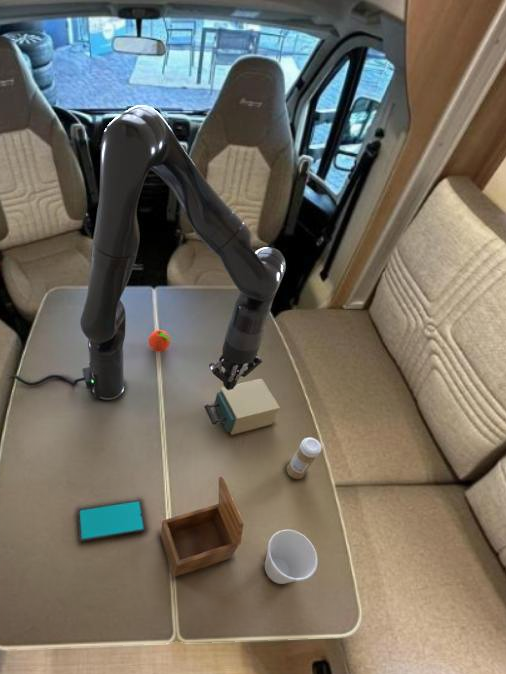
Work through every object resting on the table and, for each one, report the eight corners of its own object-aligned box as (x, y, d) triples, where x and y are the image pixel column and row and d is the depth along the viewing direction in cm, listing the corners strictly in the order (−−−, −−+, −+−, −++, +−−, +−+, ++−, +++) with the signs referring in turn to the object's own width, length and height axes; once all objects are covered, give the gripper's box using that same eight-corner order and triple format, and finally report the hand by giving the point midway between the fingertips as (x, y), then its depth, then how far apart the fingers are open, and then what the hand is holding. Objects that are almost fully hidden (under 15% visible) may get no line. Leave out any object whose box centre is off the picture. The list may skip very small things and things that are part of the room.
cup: (250, 547, 95) (262, 531, 86) (292, 544, 96) (308, 527, 87) (262, 595, 88) (276, 582, 80) (307, 591, 89) (325, 578, 81)
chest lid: (239, 524, 75) (243, 523, 75) (218, 477, 81) (222, 475, 81) (237, 545, 86) (240, 544, 86) (218, 502, 92) (221, 501, 92)
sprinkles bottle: (307, 473, 107) (326, 447, 97) (295, 482, 106) (313, 457, 95) (294, 460, 110) (311, 433, 99) (282, 468, 108) (298, 442, 98)
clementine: (176, 347, 135) (178, 331, 130) (165, 360, 131) (166, 345, 126) (155, 337, 138) (156, 322, 132) (144, 350, 134) (144, 334, 128)
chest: (174, 577, 90) (177, 565, 84) (160, 534, 96) (162, 520, 90) (230, 558, 93) (238, 545, 87) (213, 517, 99) (219, 503, 92)
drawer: (213, 436, 113) (216, 423, 108) (200, 408, 118) (203, 395, 114) (264, 422, 116) (270, 409, 111) (249, 396, 122) (254, 383, 117)
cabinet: (231, 435, 114) (237, 418, 108) (216, 404, 121) (220, 387, 114) (272, 424, 117) (280, 407, 111) (255, 395, 123) (261, 378, 117)
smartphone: (77, 509, 98) (139, 500, 100) (78, 511, 99) (139, 501, 101) (79, 541, 94) (144, 530, 96) (80, 542, 94) (144, 531, 96)
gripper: (262, 320, 92) (245, 370, 105) (208, 331, 89) (197, 381, 102) (279, 343, 88) (259, 392, 101) (222, 356, 85) (209, 405, 98)
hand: (228, 386), depth 102 cm, fingers closed
